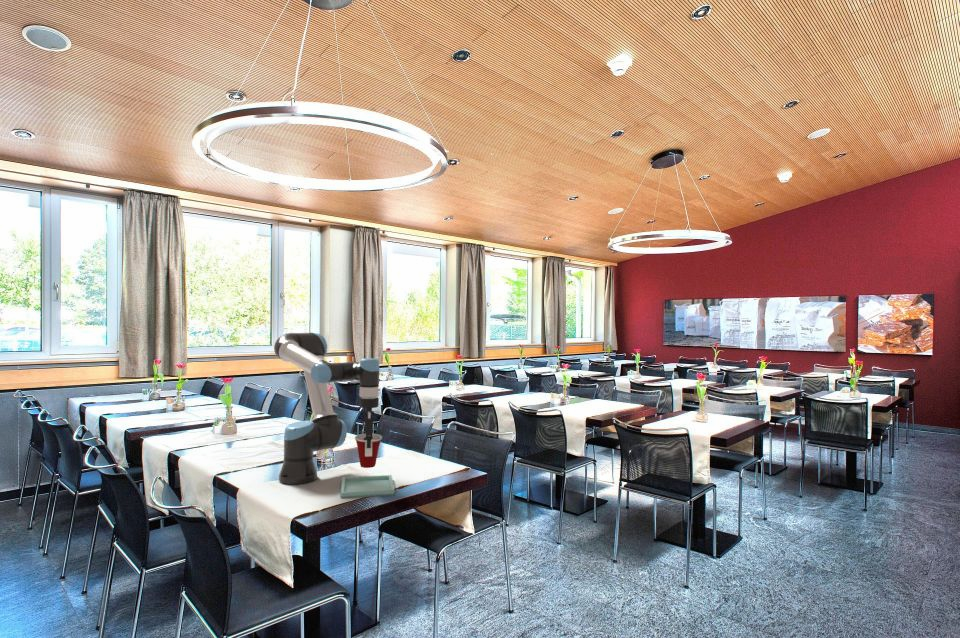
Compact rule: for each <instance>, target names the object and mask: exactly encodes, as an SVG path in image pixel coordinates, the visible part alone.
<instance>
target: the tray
mask: <svg viewBox="0 0 960 638" xmlns="http://www.w3.org/2000/svg"><path fill="white" fill-rule="evenodd" d="M385 496H388V497H389V496H395V486H394V481H393V476H392V474H388V475H387V474H385V475H384V474H383V475H366V476H365V475H362V476H343V477H342V478H341V487H340V499H347V498H348V499H349V498H363V497H364V498H365V497H366V498H367V497H369V498H370V497H385Z"/></svg>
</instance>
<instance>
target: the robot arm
mask: <svg viewBox="0 0 960 638" xmlns="http://www.w3.org/2000/svg"><path fill="white" fill-rule="evenodd" d="M273 349H274V350H273V351H274V353H275V355H276V357H277V358H279V359H280V360H282V361H283V362H286V363H289V362H290V363H291V364H293V365H295V366H296V367H299V368H300V369H302V370H303V374H304V375H303V376H304V379H305V383H306V389H307V393H308V399H309V402H310V407H311V412H312V415H313V417H312V419H311V420H300V421H295V422H291V423H290V424H288V425H286V427H285V429H284V434H283V463H282V466H281V468H280V472H279V474H278V481H280V482H279V483H281V482H282V483H281V484H284V483H286V484H285V485H303V483H304V484H308V482H309V483H311V482H314V481H316V480H317V479H318V471H317V468H316V465H315V464H316V463H315V461H314V452H319V451H323V450H329V449H331V450H332V449H335V448H338V447H341V446H343V445H344V442H345V441H346V438H347V434H348V433H347V431H348V429H347V424H346V422H345V421H344V420H343V419H340V418H339V414H337V413H336V412H334V408H333V405H332V400H331V396H330V392H329V391H330V390H329V387H328V383H338V382H339V383H340V382H349V381H357V382H359V397H360V398H359V403H358V405H359V406H358V407H359V408H360V409H364V411H363V417H364V418H363V421H364V424H365V425H364V434H365V433H366V437H365V438H364V440H365V456H372V438H373V437H372V434H374V430H373V424H374V417H375V411H374V410H373V409H376V408H379V403H380V401H379V400H380V398H379V392H380V391H381V388H380V387H379V386H380V385H379V384H380V361H379V359H378V358H371V357H369V358H361V359H360V360H359V361H360V362H358V361H354V360H351V361H344V362H329V361H327V360H325V357H326V355H327V353H328V342H327V340H326V339H325V337H324V336H323V335H322V334H320V333H315V332H288V333H284V334H282V335H280V336H279V337H278V338H277V339H276V340H275V342H274V347H273ZM368 435H370V436H368Z"/></svg>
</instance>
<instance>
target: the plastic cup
mask: <svg viewBox="0 0 960 638" xmlns="http://www.w3.org/2000/svg"><path fill="white" fill-rule="evenodd" d="M368 436H370V435H368ZM365 437H366V433H365V432H364V433H360V434H356V435H355V436H354V440H355V442H356V446H357V453H358V459H359V465H360V467H361V468H364V469H365V468H366V469H368V468H369V469H370V468H374V467H375V466H376V464H377V458H378V453H379V447H380V444H381V440H382V439H383V436H382V435H381V434H378V433H372V437H373V438H372V456H365V440H364V438H365Z"/></svg>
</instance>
